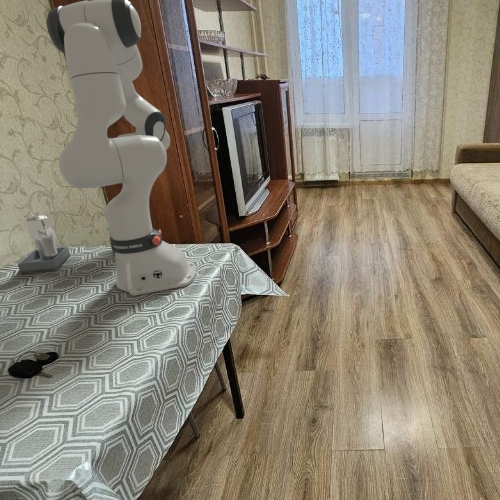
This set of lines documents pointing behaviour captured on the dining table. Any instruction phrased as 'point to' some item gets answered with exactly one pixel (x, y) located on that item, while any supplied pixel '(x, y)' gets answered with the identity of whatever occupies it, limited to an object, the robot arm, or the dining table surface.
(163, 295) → the dining table surface
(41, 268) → the box
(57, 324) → the dining table surface
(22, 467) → the dining table surface
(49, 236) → the silver tall rounded piece
